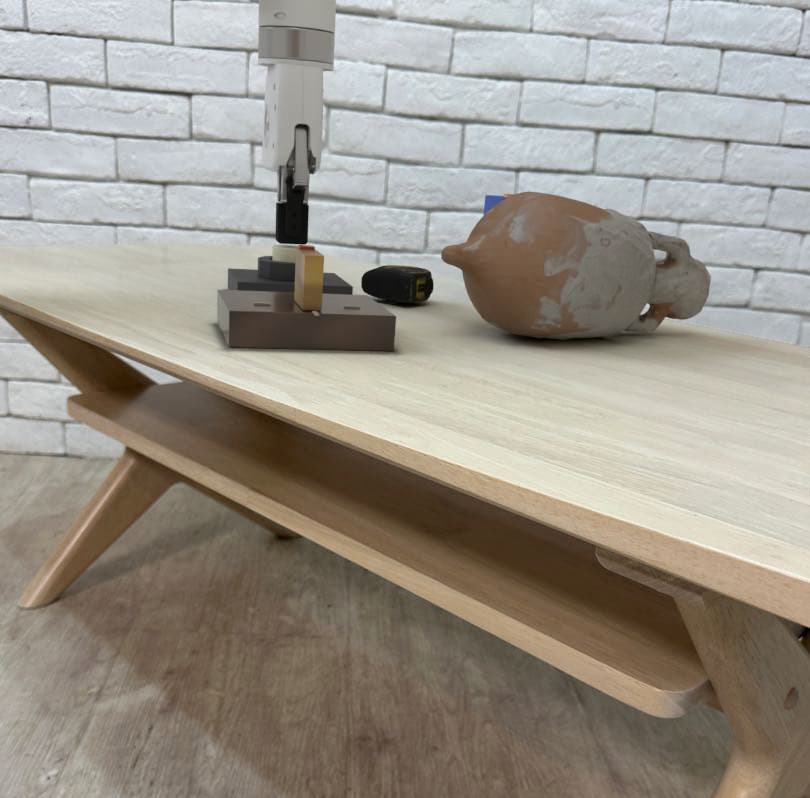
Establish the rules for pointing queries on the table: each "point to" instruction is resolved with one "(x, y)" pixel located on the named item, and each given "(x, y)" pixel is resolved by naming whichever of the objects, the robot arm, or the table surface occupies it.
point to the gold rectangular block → (309, 278)
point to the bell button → (284, 253)
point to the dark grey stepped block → (279, 278)
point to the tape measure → (398, 283)
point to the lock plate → (304, 322)
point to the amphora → (574, 270)
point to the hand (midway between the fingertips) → (291, 242)
